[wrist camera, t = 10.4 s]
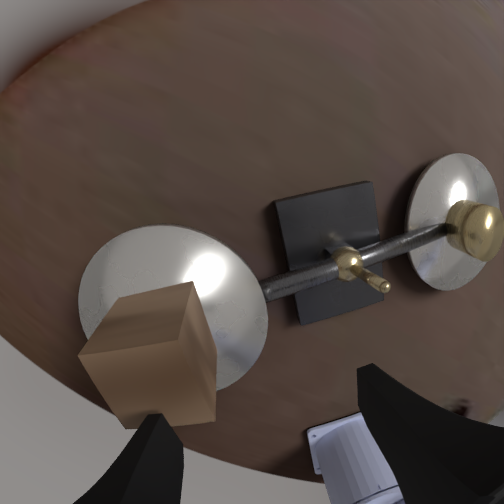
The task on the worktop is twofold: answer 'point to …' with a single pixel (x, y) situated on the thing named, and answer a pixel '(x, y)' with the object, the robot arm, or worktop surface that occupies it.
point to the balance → (307, 257)
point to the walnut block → (155, 357)
